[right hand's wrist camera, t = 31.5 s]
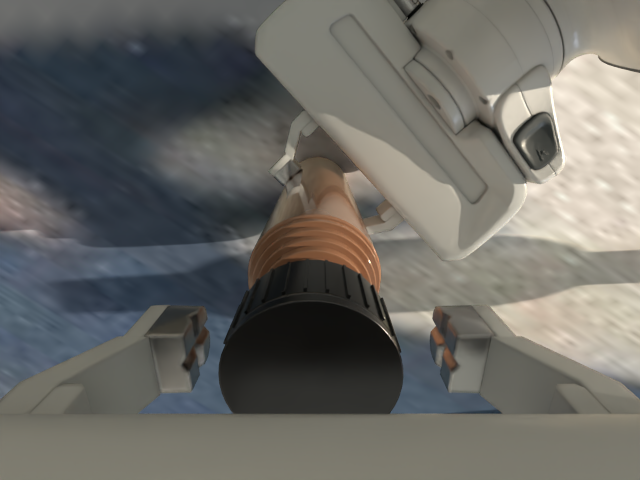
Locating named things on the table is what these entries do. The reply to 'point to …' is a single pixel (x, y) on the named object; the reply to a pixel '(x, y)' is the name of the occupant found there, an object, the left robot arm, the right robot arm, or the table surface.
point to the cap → (311, 345)
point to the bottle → (316, 225)
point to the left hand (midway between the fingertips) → (308, 210)
